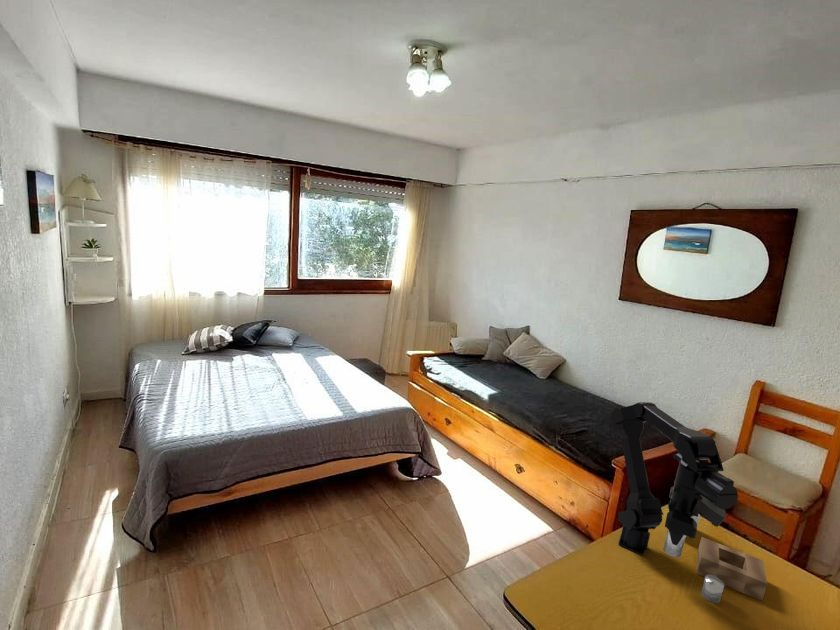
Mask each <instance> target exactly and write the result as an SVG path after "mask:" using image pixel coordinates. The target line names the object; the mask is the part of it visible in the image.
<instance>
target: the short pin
mask: <svg viewBox="0 0 840 630" xmlns="http://www.w3.org/2000/svg"><path fill="white" fill-rule="evenodd" d="M724 588H725V585H724V583H723V581H722V580H721V579H719V578H718V577H716V576H713V575H706V576H705V577H704V581H703V585H702V587H701V591H700V593H701V596H702V597H703V598H704V599H705V600H707V601H708V602H710V603H713V604H719V603H721V598H722V596H723V591H724Z"/></svg>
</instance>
